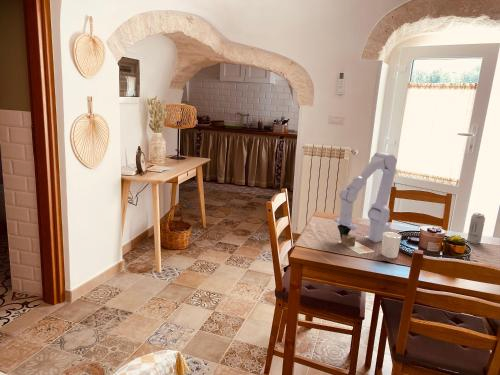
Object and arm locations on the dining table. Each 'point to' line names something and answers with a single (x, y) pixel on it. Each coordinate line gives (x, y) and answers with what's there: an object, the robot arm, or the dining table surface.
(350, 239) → the block
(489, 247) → the dining table surface
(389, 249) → the white cup
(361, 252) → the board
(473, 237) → the energy drink can
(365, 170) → the robot arm
